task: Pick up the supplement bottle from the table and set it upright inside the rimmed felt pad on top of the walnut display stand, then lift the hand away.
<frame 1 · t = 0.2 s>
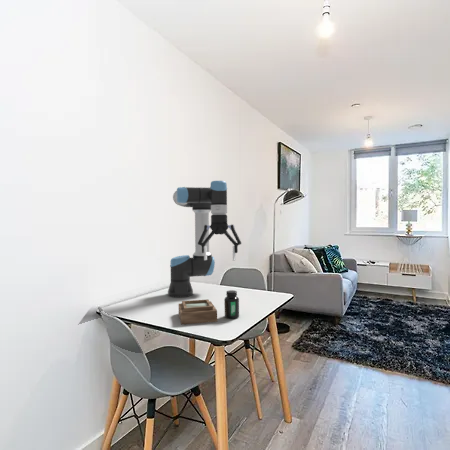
hand: (219, 260, 147), 27 cm above the table, tool pointing down, fingers open, 13 cm apart
supplement bottle: (231, 317, 148), on the table
display stand: (197, 317, 148), on the table
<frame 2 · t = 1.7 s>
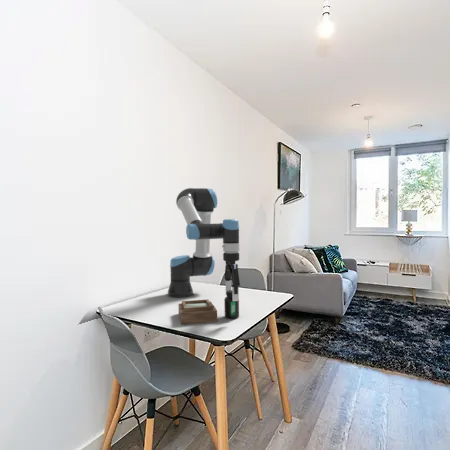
hand: (231, 297, 148), 9 cm above the table, tool pointing down, fingers open, 13 cm apart
nothing on the table moved.
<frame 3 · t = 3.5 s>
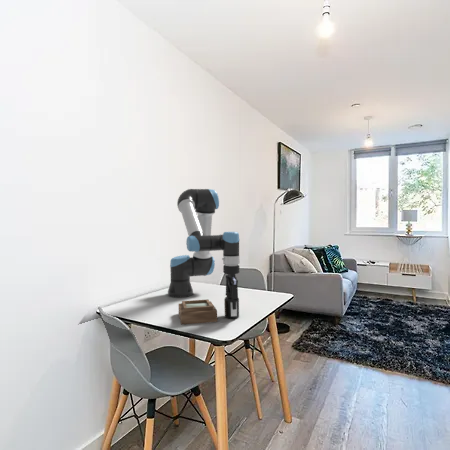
hand: (231, 313, 148), 2 cm above the table, tool pointing down, fingers closed on supplement bottle, 7 cm apart
supplement bottle: (231, 317, 148), on the table, touching gripper
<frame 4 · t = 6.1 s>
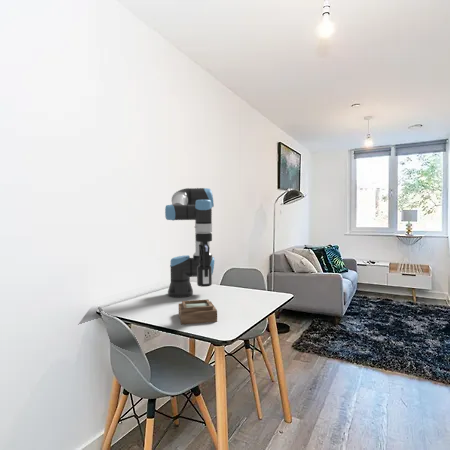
hand: (204, 281, 148), 17 cm above the table, tool pointing down, fingers closed on supplement bottle, 7 cm apart
supplement bottle: (204, 285, 148), point 15 cm above the table, touching gripper
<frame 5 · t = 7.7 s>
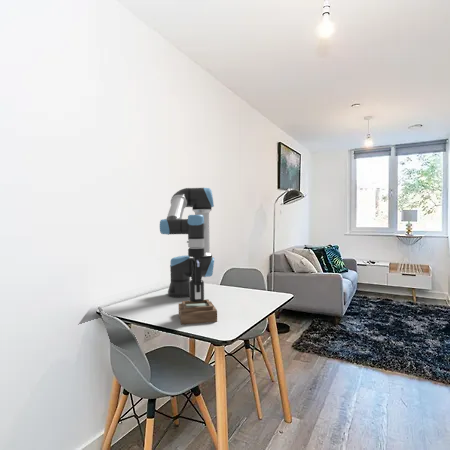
hand: (196, 296, 148), 10 cm above the table, tool pointing down, fingers closed on supplement bottle, 7 cm apart
supplement bottle: (196, 300, 148), point 8 cm above the table, touching gripper
when the fingers open (8 cm above the table, at t = 8.8 s): supplement bottle drops 1 cm, resting on display stand.
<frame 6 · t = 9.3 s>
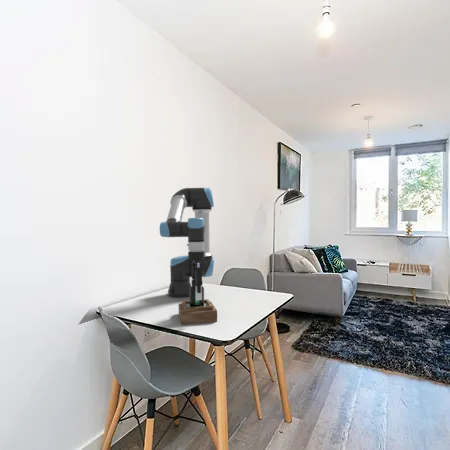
hand: (196, 296, 148), 10 cm above the table, tool pointing down, fingers open, 13 cm apart
supplement bottle: (196, 306, 148), point 5 cm above the table, touching display stand
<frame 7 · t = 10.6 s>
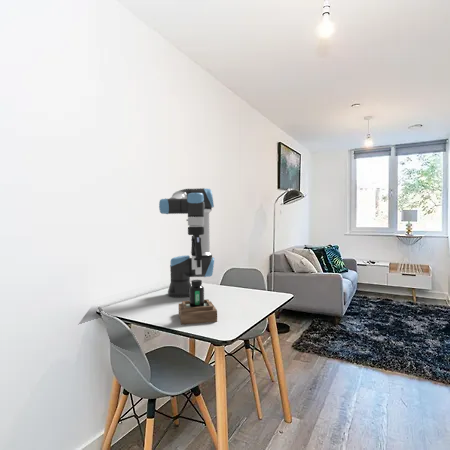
hand: (196, 271, 148), 21 cm above the table, tool pointing down, fingers open, 13 cm apart
nothing on the table moved.
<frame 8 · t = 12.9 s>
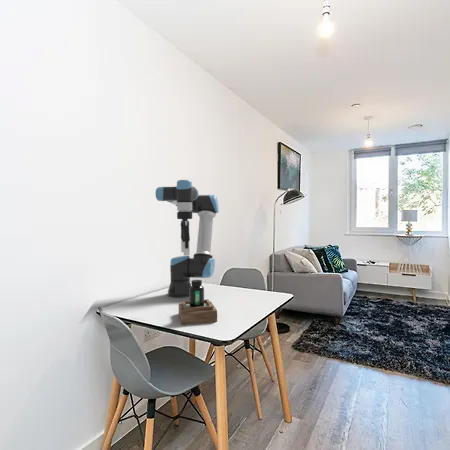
hand: (185, 253, 158), 29 cm above the table, tool pointing down, fingers open, 13 cm apart
nothing on the table moved.
at the end: supplement bottle 0.2 cm off-centre on the display stand, point 5.1 cm above the display stand's base; supplement bottle tilted 0°; the gripper is holding nothing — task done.
